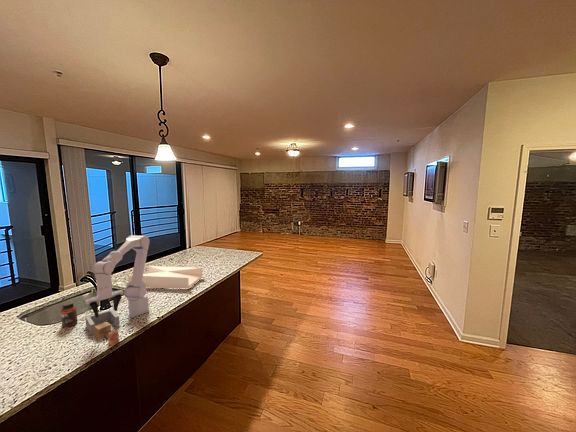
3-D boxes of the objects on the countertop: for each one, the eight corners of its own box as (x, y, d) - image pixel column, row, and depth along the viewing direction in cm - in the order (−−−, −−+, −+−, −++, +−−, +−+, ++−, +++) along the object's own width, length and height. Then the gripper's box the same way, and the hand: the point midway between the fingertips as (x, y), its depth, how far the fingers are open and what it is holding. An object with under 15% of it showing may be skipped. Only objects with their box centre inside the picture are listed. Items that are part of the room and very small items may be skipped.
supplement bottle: (76, 320, 130) (74, 299, 129) (78, 324, 127) (77, 303, 126) (61, 324, 126) (59, 303, 125) (63, 328, 122) (61, 307, 121)
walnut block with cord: (107, 330, 121) (106, 320, 121) (121, 341, 112) (120, 330, 112) (95, 335, 117) (94, 325, 117) (108, 346, 108) (108, 336, 108)
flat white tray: (202, 279, 193) (202, 267, 192) (188, 290, 171) (188, 277, 170) (148, 277, 197) (148, 265, 196) (128, 288, 175) (127, 275, 174)
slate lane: (113, 317, 133) (112, 308, 133) (119, 325, 126) (118, 316, 125) (86, 326, 125) (85, 316, 124) (91, 335, 117) (90, 325, 116)
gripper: (118, 280, 125) (120, 305, 126) (82, 289, 113) (84, 317, 114) (124, 283, 121) (125, 309, 122) (87, 292, 109) (89, 321, 110)
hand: (106, 313), depth 118 cm, fingers open, 7 cm apart
